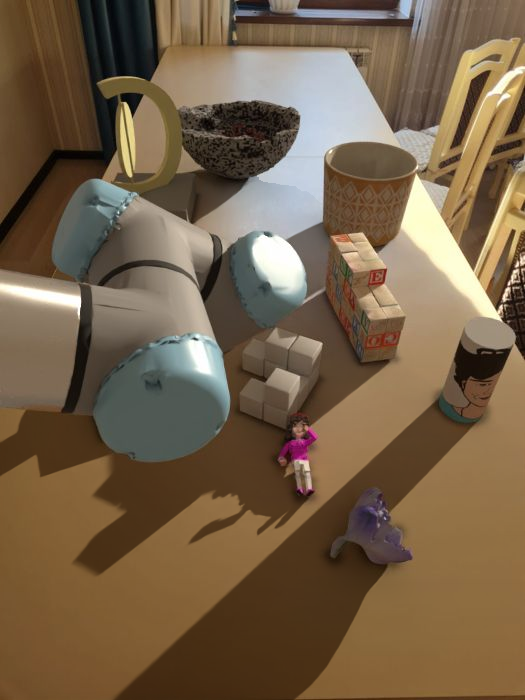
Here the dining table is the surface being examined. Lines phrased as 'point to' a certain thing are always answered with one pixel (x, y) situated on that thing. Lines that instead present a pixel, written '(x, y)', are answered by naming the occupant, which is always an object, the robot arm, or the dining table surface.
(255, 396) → the white cube cluster
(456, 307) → the dining table surface
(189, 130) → the bowl
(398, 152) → the planter
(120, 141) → the trophy
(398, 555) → the flower
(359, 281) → the stack of blocks
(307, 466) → the character figurine
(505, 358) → the illustrated cylindrical canister
